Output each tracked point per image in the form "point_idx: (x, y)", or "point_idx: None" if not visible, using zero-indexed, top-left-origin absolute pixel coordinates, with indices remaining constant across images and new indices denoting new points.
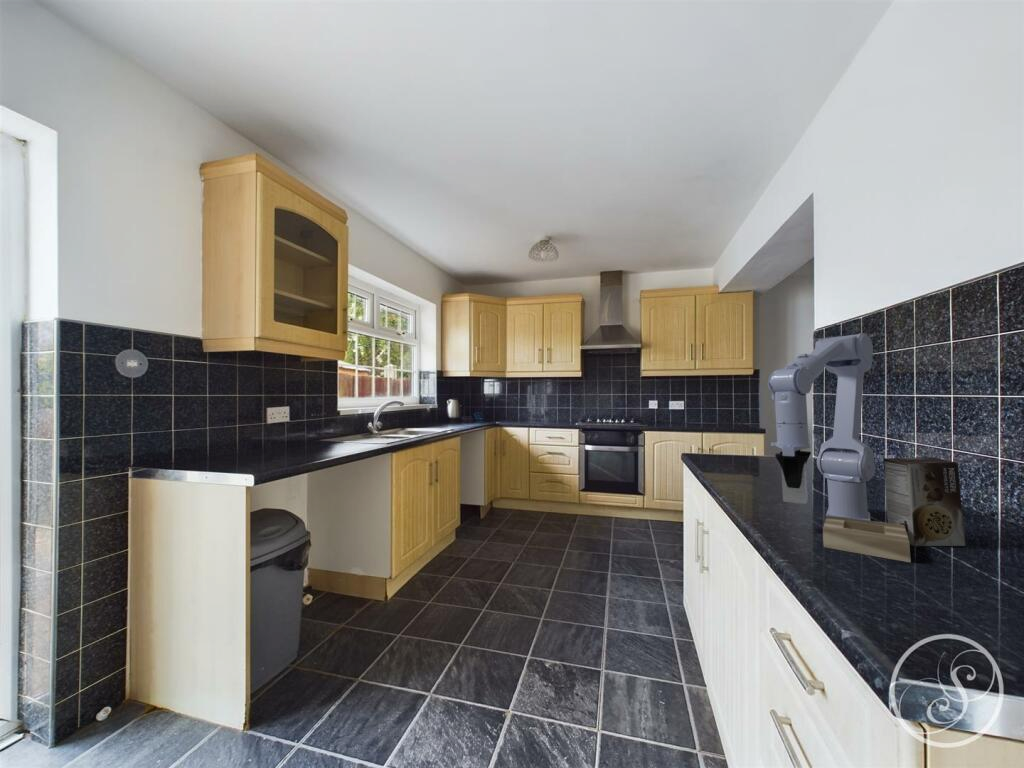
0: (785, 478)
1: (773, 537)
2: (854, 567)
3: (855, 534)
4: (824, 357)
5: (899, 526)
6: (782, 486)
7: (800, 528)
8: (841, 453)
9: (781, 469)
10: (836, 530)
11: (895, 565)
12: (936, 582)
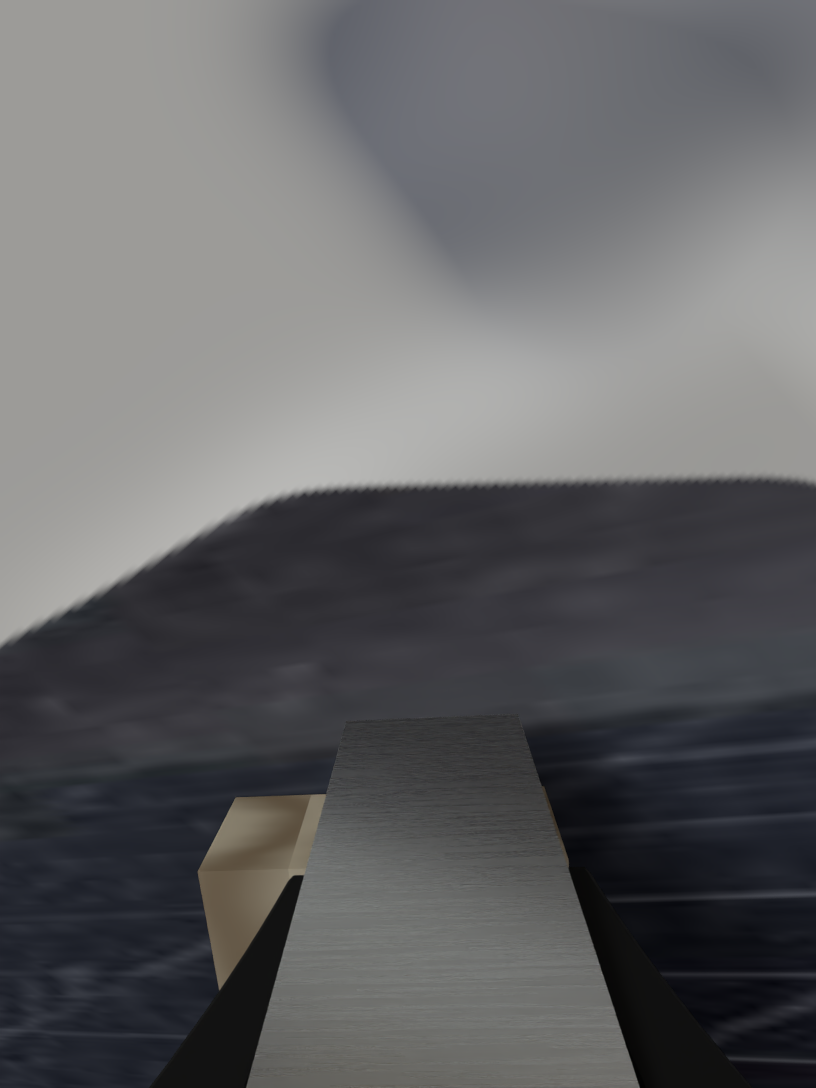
0: (233, 972)
1: (226, 592)
2: (57, 900)
3: (221, 985)
4: None
5: None
6: (319, 823)
7: (516, 672)
8: None
9: (253, 1077)
10: (218, 923)
11: (197, 997)
12: (110, 1074)
